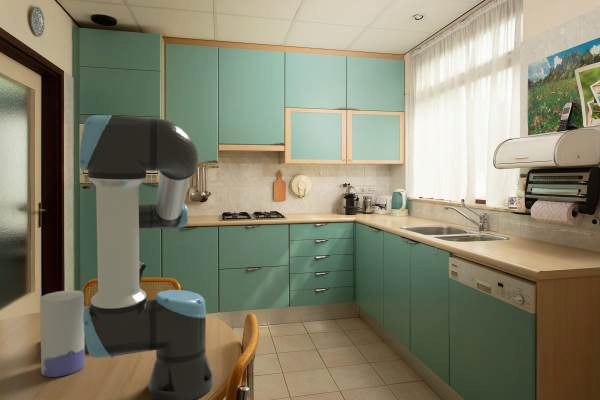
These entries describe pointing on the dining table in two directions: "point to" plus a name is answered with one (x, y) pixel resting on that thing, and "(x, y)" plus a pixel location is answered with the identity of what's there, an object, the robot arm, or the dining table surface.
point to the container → (62, 333)
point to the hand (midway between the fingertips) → (125, 316)
